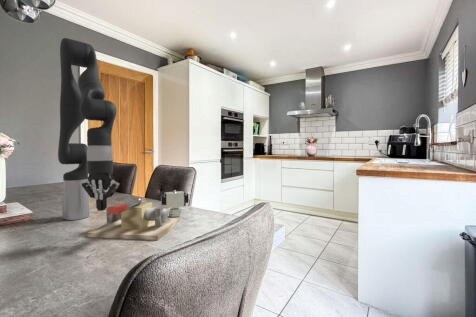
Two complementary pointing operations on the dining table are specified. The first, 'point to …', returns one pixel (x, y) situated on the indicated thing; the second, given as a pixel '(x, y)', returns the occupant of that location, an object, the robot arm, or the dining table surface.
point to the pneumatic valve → (174, 201)
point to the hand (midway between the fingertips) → (101, 210)
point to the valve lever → (123, 206)
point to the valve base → (134, 233)
